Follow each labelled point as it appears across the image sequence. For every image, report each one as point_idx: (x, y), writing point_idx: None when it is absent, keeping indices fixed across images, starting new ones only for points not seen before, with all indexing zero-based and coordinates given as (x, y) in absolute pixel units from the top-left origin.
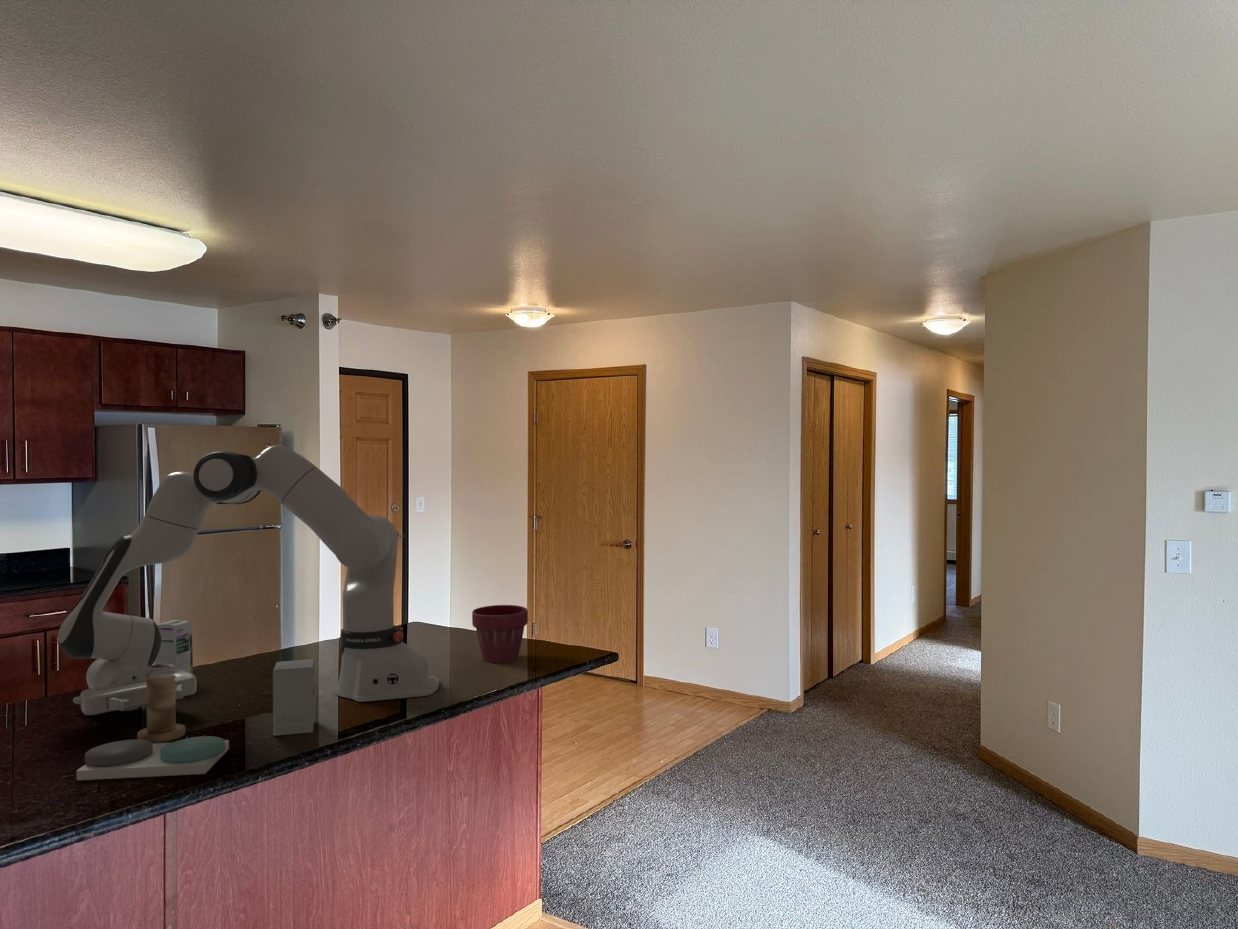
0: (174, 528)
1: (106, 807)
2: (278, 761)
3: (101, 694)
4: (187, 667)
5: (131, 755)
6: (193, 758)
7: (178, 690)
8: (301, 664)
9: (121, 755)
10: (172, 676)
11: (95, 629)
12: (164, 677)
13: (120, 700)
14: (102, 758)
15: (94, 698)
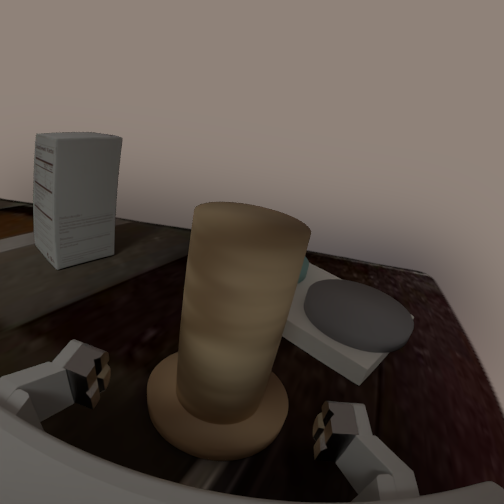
0: None
1: (371, 270)
2: (190, 229)
3: (461, 500)
4: None
5: (347, 280)
6: None
7: (87, 345)
8: (79, 132)
9: (360, 289)
10: (214, 204)
11: None
12: (241, 213)
13: (366, 425)
14: (386, 297)
15: (478, 483)
